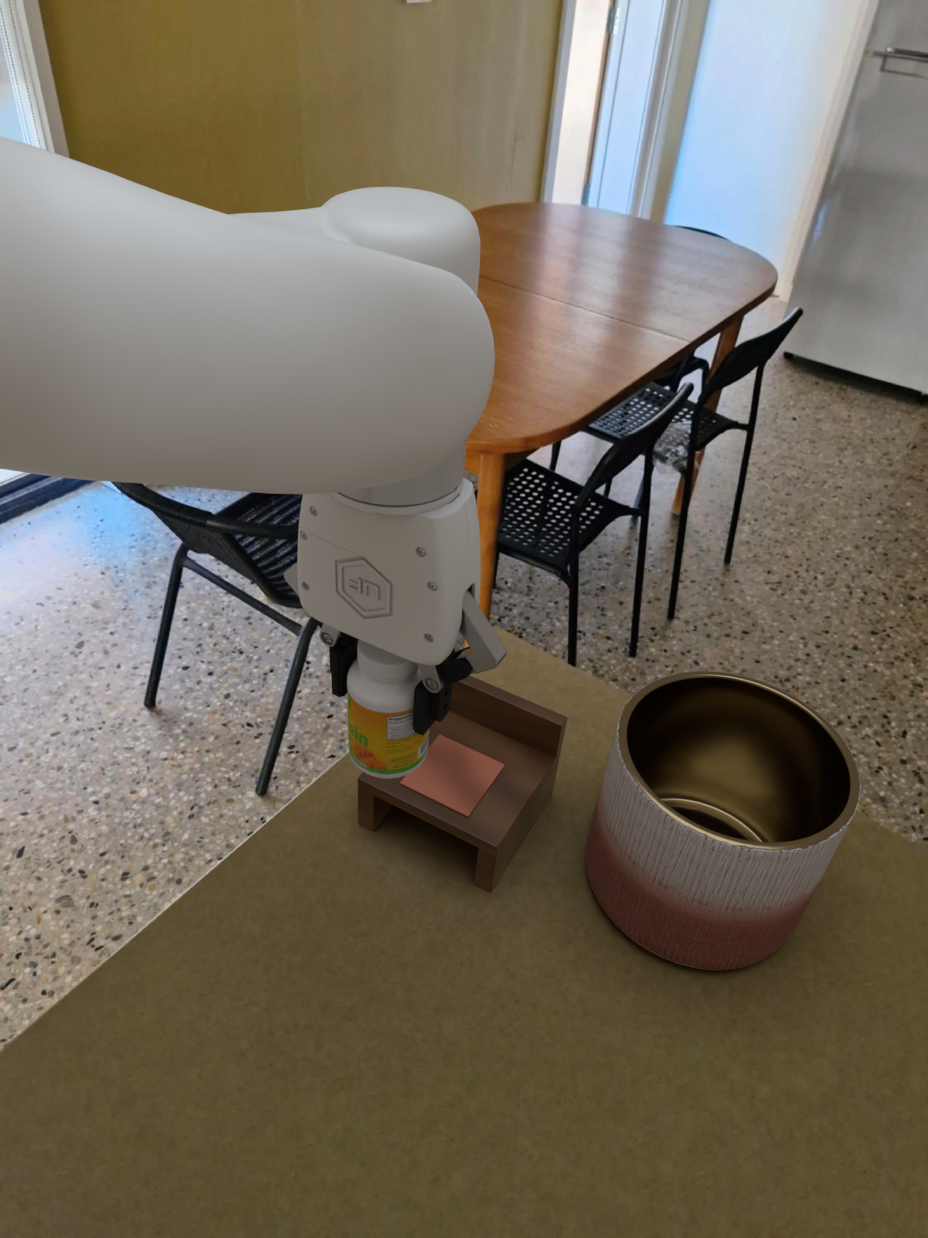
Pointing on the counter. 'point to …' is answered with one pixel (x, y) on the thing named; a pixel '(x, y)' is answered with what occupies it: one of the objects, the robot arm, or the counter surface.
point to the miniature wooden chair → (478, 774)
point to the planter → (717, 817)
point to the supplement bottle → (383, 713)
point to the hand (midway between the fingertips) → (389, 699)
